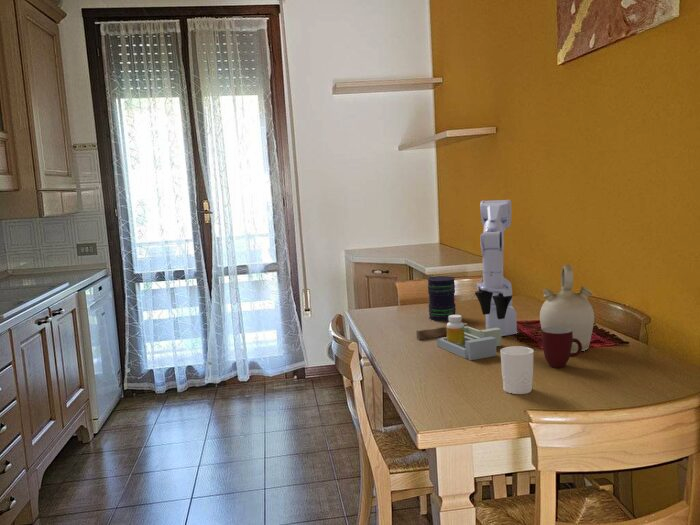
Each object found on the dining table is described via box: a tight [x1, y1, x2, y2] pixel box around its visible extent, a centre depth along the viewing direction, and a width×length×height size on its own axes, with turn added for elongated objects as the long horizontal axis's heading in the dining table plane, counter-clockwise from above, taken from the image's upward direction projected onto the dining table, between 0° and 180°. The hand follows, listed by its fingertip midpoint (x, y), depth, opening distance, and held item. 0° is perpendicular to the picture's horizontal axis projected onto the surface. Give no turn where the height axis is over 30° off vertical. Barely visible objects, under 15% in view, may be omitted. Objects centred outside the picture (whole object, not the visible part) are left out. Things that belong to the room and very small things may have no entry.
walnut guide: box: [416, 322, 473, 341], centre depth 208 cm, size 19×22×3 cm
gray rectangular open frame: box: [436, 336, 497, 361], centre depth 198 cm, size 9×19×5 cm, turn 23°
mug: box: [540, 327, 582, 369], centre depth 178 cm, size 10×8×10 cm
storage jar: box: [427, 275, 457, 322], centre depth 241 cm, size 10×10×15 cm
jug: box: [539, 264, 595, 354], centre depth 194 cm, size 15×16×25 cm
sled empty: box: [464, 326, 502, 348], centre depth 209 cm, size 6×19×5 cm, turn 23°
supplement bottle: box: [446, 314, 465, 348], centre depth 203 cm, size 5×5×10 cm
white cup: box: [499, 345, 535, 395], centre depth 161 cm, size 8×8×10 cm
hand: (493, 316), depth 198 cm, fingers open, 7 cm apart
